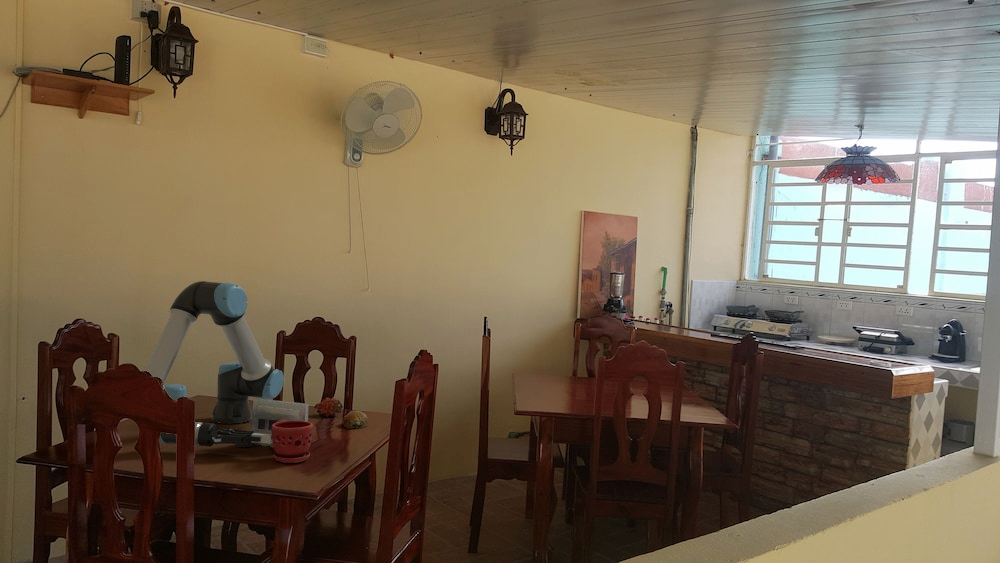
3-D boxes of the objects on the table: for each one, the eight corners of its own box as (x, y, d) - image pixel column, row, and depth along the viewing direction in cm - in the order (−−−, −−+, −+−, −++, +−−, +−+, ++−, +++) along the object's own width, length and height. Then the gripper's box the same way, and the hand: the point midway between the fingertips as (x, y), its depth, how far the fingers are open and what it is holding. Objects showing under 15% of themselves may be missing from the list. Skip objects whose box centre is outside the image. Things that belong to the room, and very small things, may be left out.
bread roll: (368, 434, 291) (372, 414, 294) (363, 428, 281) (366, 408, 285) (345, 432, 292) (348, 413, 295) (338, 426, 282) (342, 406, 285)
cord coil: (232, 446, 248) (233, 439, 248) (242, 442, 254) (242, 435, 254) (248, 448, 247) (248, 441, 246) (257, 444, 252) (258, 437, 252)
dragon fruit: (344, 420, 303) (315, 423, 302) (345, 405, 309) (317, 408, 309) (340, 407, 297) (311, 409, 297) (342, 392, 304) (313, 394, 303)
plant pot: (317, 456, 242) (319, 421, 242) (301, 467, 229) (303, 429, 229) (281, 452, 244) (282, 417, 244) (262, 462, 231) (264, 426, 231)
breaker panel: (249, 445, 251) (251, 400, 250) (254, 443, 254) (256, 398, 253) (301, 451, 247) (304, 405, 246) (306, 449, 250) (308, 404, 249)
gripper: (209, 440, 244) (278, 445, 243) (191, 450, 231) (263, 455, 230) (210, 418, 244) (279, 423, 243) (192, 427, 231) (264, 432, 230)
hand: (271, 439), depth 236 cm, fingers closed
